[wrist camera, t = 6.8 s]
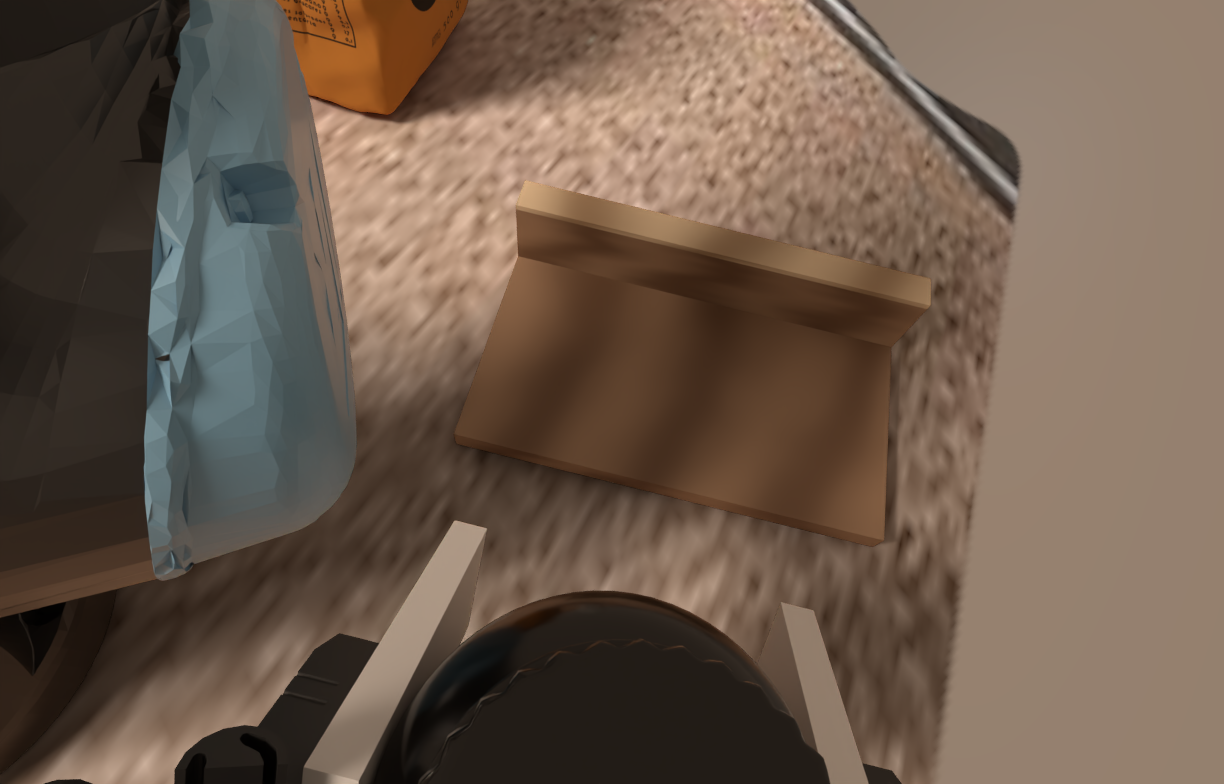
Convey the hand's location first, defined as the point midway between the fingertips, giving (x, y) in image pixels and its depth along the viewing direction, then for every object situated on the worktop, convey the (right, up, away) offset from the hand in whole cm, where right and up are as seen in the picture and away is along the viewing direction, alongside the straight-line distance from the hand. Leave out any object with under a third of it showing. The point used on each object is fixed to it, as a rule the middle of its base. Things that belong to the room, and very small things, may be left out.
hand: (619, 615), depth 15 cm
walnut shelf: (+4, +6, +19) cm, 20 cm away
